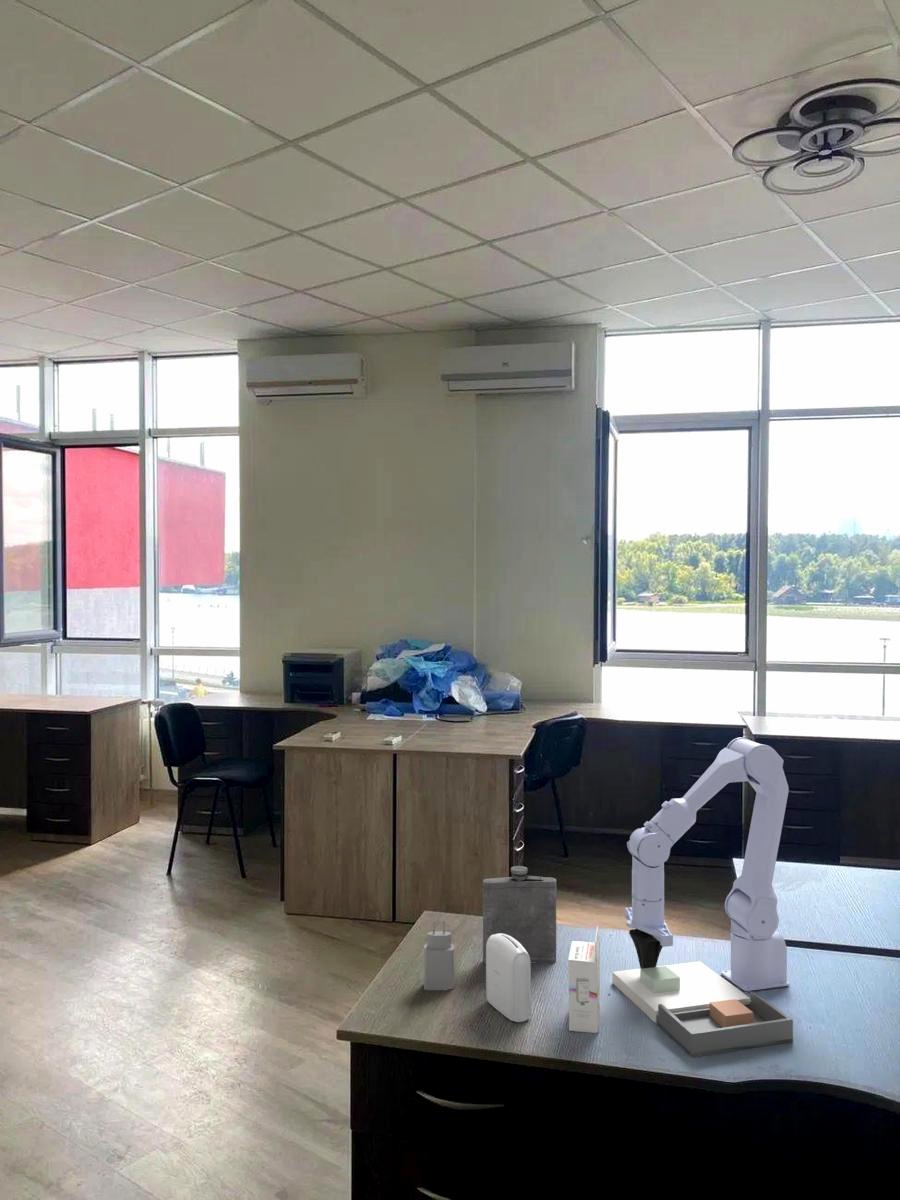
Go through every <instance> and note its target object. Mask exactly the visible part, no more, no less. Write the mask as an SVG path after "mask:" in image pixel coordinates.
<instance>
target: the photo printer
mask: <svg viewBox="0 0 900 1200" xmlns="http://www.w3.org/2000/svg"><path fill="white" fill-rule="evenodd" d="M531 977H532V976H531V963H530V957H529V955H528V953H527V951H526V950H525V948H524V947H523V946H522V945H521V944H520V943H519V942H518V941H517V940H515V939H514V938H512V937H511V936H509V935H506V934H502V933H498V934H494V935H491V936H490V937H489V939H488V940H487V943H486V965H485V982H486V983H485V988H486V989H485V991H486V992H485V993H486V994H485V995H486V1001H487V1002H488V1003H489V1004H490V1005H491V1006H492V1007H493V1008H494V1009H496V1010H497V1011H498V1012H499V1013H501V1015H503V1016H504V1017H505V1018H507V1019H508V1020H510V1021H512V1022H515V1023H522V1022H526V1021H528V1020H529V1018H530V1017H531V1014H532V1010H531V1009H532V1002H531V999H532V997H531V996H532V995H531V994H532V993H531V992H532V990H531V986H532V985H531V982H532V981H531Z"/></svg>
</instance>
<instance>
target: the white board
mask: <svg viewBox="0 0 900 1200" xmlns="http://www.w3.org/2000/svg"><path fill="white" fill-rule="evenodd" d="M661 966H662V965H658V966H657V965H656V967H661ZM664 966H666V967H667V968H669V969H670V970H671V971H672V972H674V973H675V974H676V975H678V976H679V977H680V990H676V991H669V992H661V993H653V992H652V991H651V990H650V989H649V988H647V987H646V986H645V985H644V984H643V983H642V982H641V981H640V969H641V968H640V967H639V968H633V969H632V968H631V969H625V970H624V969H623V970H616V971H612V984H613V985H614V986H615V987H616V988H617V989H618V990H620V991H621V992H622V994H624V995H625V996H626V997H627V998H628V999H629V1000H630V1001H631V1002H632V1003H633V1004H634V1005H635V1006H636V1007H638V1008H639V1009H640V1010H641V1011H642V1012H643V1013H644V1014H645V1015H646V1016H647V1017H648V1018H649V1019H650V1020H652V1021H653V1022H654V1023H655V1024H656V1015H658V1004H662V1005H663V1006H664V1007H666V1008H667V1009H668V1010H669V1011H670V1012H671V1013H674V1012H681V1011H688V1010H696V1009H703V1008H709V1004H710V1002H717V1001H725V1000H733V999H737V1000H738V1001H739V1002H740V1003H746V1002H750V996H748V994H747V995H746V993H744V992H743V991H741V990H740V988H738V987H736V986H734V985H733V984H732V983H731V982H729V980H726V979H725V978H724V977H722V976H720V975H719V974H718V973H717V972H716V971H714V970H712V969H711V968H710V967H709V966H707V965H706V964H704V963H703V962H702V961H700V960H699V961H692V962H684V963H683V962H682V963H673V964H668V965H667V964H666V965H664Z"/></svg>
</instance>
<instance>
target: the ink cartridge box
mask: <svg viewBox="0 0 900 1200" xmlns="http://www.w3.org/2000/svg"><path fill="white" fill-rule="evenodd" d="M595 930H596V932H595V938H594V941H581V940H572V941H571V943H570V948H569V952H568V959H567V963H568V1017H569V1018H568V1020H569V1021H568V1023H569V1025H568V1027H569V1028H568V1031H569V1032H579V1033H589V1034H598V1033H599V1022H600V1009H601V1007H600V1001H601V1000H600V999H601V998H600V997H601V996H600V993H601V992H600V988H601V981H600V980H601V977H600V975H601V974H600V973H601V972H600V971H601V967H600V965H601V963H600V962H601V957H600V956H601V955H600V954H601V941H600V931H599V930H600V929H599V926H598V925H597V926H596V929H595Z"/></svg>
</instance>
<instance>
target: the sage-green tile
mask: <svg viewBox="0 0 900 1200" xmlns="http://www.w3.org/2000/svg"><path fill="white" fill-rule="evenodd" d="M660 966H661V967H657V966H656V967H653V968H645V969H640V968H639V969H640V981H641V982H642V983H643V984H644V985H645V986H646V987H647V988H649V989H650V990H651V991H652V992H653V993H661V992H669V991H676V990H680V977H679V976H678V975H676V974H675V973H674V972H672V971H671V970H670V969H669V968H667V967H666V966H665V965H660Z"/></svg>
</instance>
